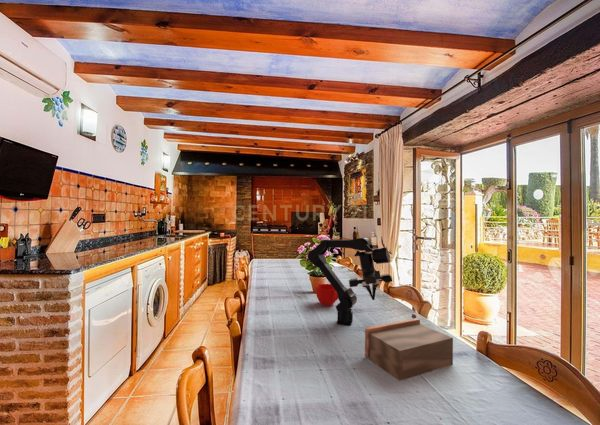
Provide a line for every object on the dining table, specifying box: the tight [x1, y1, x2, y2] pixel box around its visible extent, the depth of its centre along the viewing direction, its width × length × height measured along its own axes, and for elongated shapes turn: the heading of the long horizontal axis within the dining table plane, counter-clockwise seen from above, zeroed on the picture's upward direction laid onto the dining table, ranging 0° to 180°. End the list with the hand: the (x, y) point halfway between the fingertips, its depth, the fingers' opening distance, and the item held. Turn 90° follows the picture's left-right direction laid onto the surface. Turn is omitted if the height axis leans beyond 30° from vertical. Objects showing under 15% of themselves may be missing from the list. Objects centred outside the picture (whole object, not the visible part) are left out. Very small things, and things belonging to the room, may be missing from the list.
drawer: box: [364, 317, 421, 359], centre depth 100 cm, size 14×25×10 cm, turn 115°
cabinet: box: [369, 323, 454, 381], centre depth 98 cm, size 14×24×9 cm, turn 115°
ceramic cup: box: [315, 283, 339, 307], centre depth 161 cm, size 13×17×10 cm
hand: (373, 299), depth 128 cm, fingers closed
